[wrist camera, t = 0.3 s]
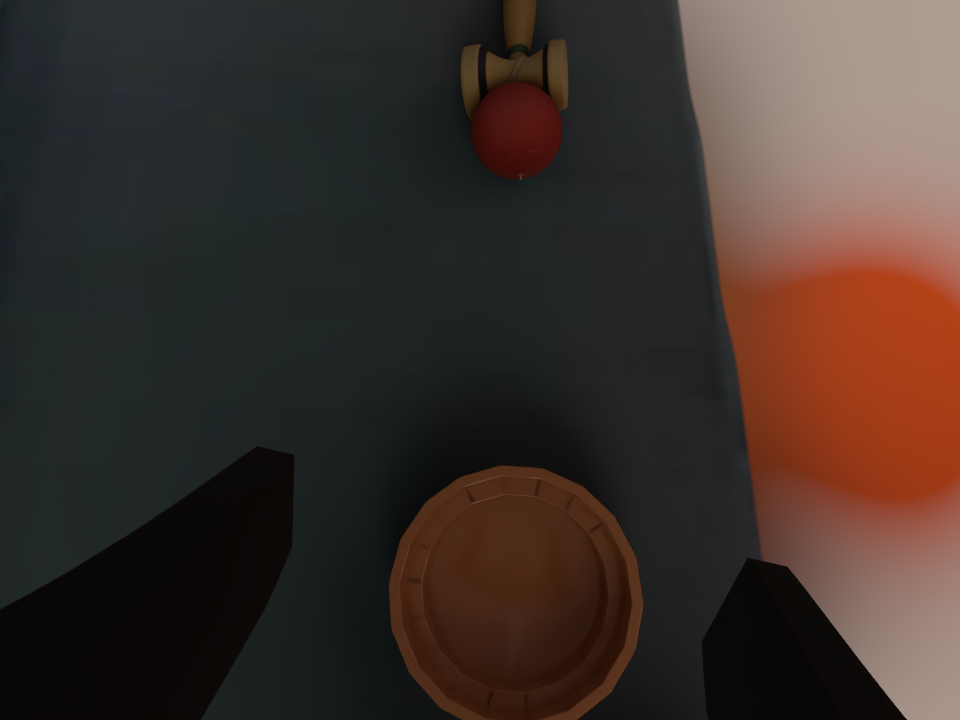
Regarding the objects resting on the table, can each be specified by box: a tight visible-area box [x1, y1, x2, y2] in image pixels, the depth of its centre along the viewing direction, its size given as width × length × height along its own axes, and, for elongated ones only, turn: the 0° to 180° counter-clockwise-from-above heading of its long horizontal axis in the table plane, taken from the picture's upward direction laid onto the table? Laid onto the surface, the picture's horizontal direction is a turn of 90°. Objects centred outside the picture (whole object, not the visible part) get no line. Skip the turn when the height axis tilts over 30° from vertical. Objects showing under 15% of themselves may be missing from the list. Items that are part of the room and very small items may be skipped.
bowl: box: [389, 465, 643, 720], centre depth 35 cm, size 13×13×4 cm
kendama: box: [460, 0, 568, 180], centre depth 44 cm, size 8×6×18 cm
